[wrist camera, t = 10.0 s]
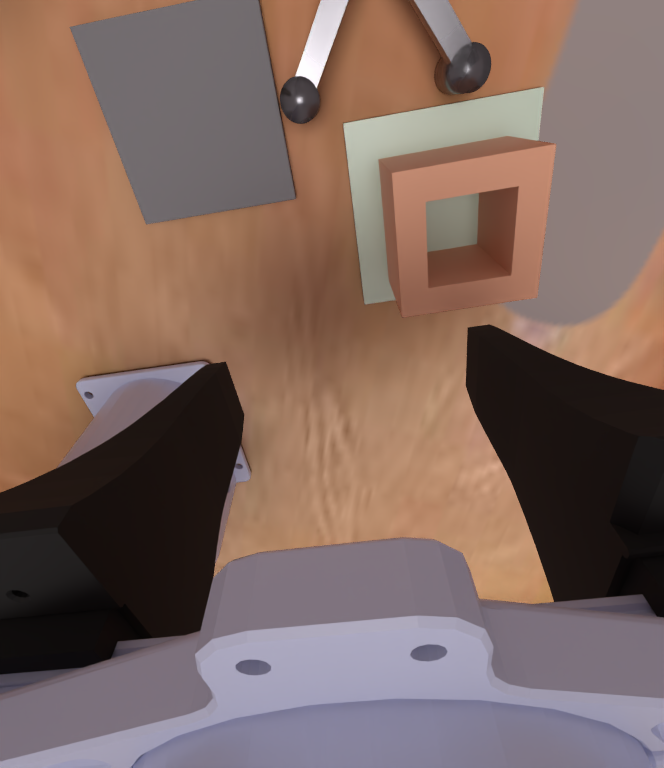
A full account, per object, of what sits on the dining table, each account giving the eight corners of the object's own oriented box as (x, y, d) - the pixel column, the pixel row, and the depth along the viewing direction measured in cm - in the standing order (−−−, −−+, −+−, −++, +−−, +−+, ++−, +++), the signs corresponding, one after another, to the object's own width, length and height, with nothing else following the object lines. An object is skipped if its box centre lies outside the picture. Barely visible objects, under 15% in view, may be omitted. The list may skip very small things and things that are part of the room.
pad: (520, 278, 21) (523, 281, 21) (364, 301, 22) (364, 304, 21) (539, 87, 17) (544, 87, 16) (343, 123, 17) (343, 123, 17)
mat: (296, 197, 19) (295, 199, 18) (149, 222, 19) (146, 224, 19) (257, -10, 15) (255, -13, 15) (75, 28, 15) (69, 26, 15)
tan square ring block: (498, 263, 20) (537, 297, 17) (388, 280, 21) (402, 317, 17) (507, 135, 17) (556, 143, 14) (378, 159, 18) (391, 173, 14)
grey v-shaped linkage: (469, 91, 17) (489, 89, 15) (289, 124, 17) (284, 126, 15) (475, -129, 13) (502, -172, 11) (253, -80, 14) (240, -111, 12)
